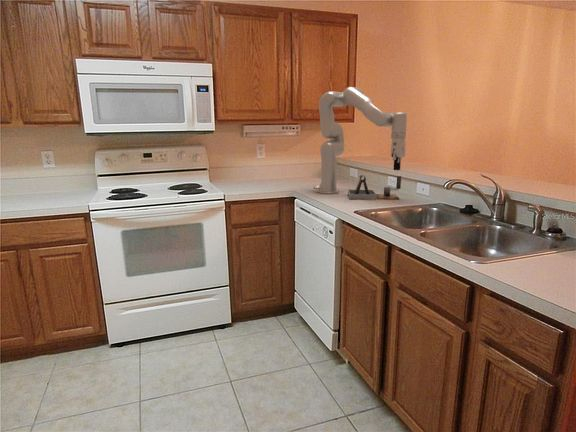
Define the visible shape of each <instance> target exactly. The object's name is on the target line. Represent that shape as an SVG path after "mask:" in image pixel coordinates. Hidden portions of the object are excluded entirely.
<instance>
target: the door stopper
mask: <svg viewBox="0 0 576 432" xmlns="http://www.w3.org/2000/svg"><path fill="white" fill-rule="evenodd" d="M362 178H363V179H362ZM366 180H367V178H366V176H365V175H364V174H363V175H362V174H361V175H359V181H358V183H357V186H356V187H355V189H354V190H355V192H354V194H358V193H359V190H361V186H362V184H363V187H364V190H365V193H366V194H369V191H368V190H369V188H368V185H367V182H366Z"/></svg>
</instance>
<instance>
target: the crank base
mask: <svg viewBox="0 0 576 432" xmlns="http://www.w3.org/2000/svg"><path fill="white" fill-rule="evenodd" d="M376 194H377V200H385V201H387V200H392V201H396V200H397V201H400V197H399V196H398V195H397V194H396V193H394V194H393V193H390V196H384V193H376Z"/></svg>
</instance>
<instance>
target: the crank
mask: <svg viewBox="0 0 576 432" xmlns="http://www.w3.org/2000/svg"><path fill="white" fill-rule="evenodd" d="M401 185H402V175H397V176H396V186H395V187H391V186H384V187H383V194H384V196H390V194H391V191H396V192H399V190H400V189H401V187H402V186H401Z"/></svg>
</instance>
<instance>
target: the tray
mask: <svg viewBox="0 0 576 432" xmlns="http://www.w3.org/2000/svg"><path fill="white" fill-rule="evenodd" d="M355 190H356V189H347V196H348V197H347V198H348V200H349V201H350V200H355V201H357V200H358V201H359V200H362V201H377V200H378V199H377V194H378V193H376V192H375V190H373V189H368V191H369V194H366V193H365V189H360V190H359V193H358V194H354V192H355Z"/></svg>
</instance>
